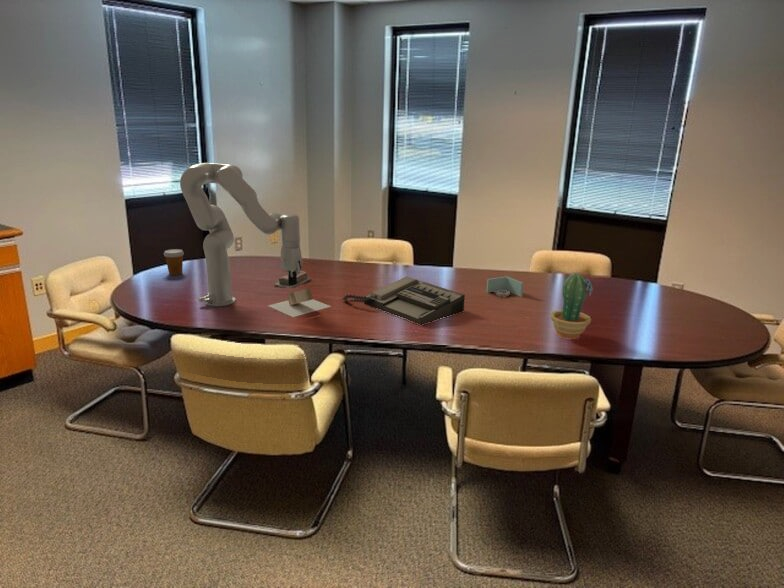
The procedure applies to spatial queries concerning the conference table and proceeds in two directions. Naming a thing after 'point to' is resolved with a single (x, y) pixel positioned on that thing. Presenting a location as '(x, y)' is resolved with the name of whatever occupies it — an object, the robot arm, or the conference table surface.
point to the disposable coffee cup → (174, 261)
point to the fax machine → (414, 300)
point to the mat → (299, 307)
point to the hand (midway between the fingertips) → (292, 284)
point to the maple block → (300, 296)
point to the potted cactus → (572, 308)
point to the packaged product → (285, 283)
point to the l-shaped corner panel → (504, 286)
